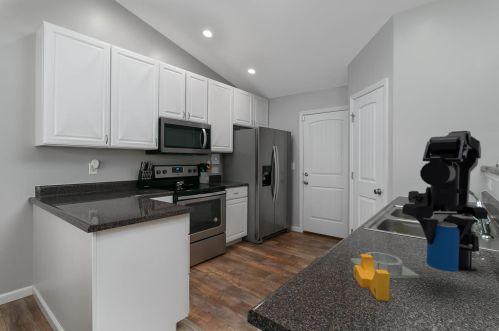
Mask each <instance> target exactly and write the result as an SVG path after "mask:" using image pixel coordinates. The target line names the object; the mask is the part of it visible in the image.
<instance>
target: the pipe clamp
mask: <svg viewBox="0 0 499 331" xmlns="http://www.w3.org/2000/svg"><path fill="white" fill-rule="evenodd" d="M360 258H361V262H360V265H355V264H354V265H353V278H355V280H356V281H357V283H358V285H359V286H360V287H361V288H364V289H365V288H366V289H369V290H370V292H371V294H373V296H374V297H375V299H376V301H385V302H386V301H387V302H390V287H391V286H390V282H391V281H390V280H391V278H390V274H389V273H388V272H387V271H386V270H374V265H373V257H372V256H371V255H367V254H365V253H361V254H360Z"/></svg>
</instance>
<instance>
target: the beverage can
mask: <svg viewBox="0 0 499 331" xmlns="http://www.w3.org/2000/svg"><path fill="white" fill-rule="evenodd" d="M458 263H459V229H458V228H457V225H456V224H453V223H448V222H443V220H442V221H441V220H438V225H437V229H436V233H435V238H434V241H433V244H429V243H428V242H427V241H426V264H427V266H428V267H430V269H432V270H433V271H436V272H439V273H443V274H449V275H450V274H454V273H456V272H458V271H459V270H458Z"/></svg>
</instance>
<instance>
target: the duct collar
mask: <svg viewBox="0 0 499 331" xmlns="http://www.w3.org/2000/svg"><path fill="white" fill-rule="evenodd" d="M364 254H367V255H371V256H372V257H373V265H374V270H386V271H387V272H388V273H389V274H390V279H420V276H421V275H420V274H418V273H416V272H415V271H413V270H411V269H410V268H408V267H407V266H405V265H403V260H402V259H401V258H399V257H397V256H396V255H393V254H389V253H385V252H381V251H369V252H366V253H364ZM350 262H351V263H353V264H354V265H360V262H361V257H360V258H355V257H354V258H350Z"/></svg>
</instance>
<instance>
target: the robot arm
mask: <svg viewBox="0 0 499 331" xmlns="http://www.w3.org/2000/svg"><path fill="white" fill-rule="evenodd" d="M481 157H482V147H481V142H480V140H478V139H477V138H475V137H474V136H472V134H471V131H470V130H469V131H468V130H457V131H455V130H454V131H451V132H448V134H447V135H444V136H443V135H442V136H432V137H430V138H429V140H428V141H426V145H425V148H424V153H423V155H422V162H427V163H425V164H424V165H423V166H422V167H421V169H420V171H419V175H420V178H421V180H422V182H424V183H425V184H427V185H430V186H426V188H425V192H421V193H420V192H419V190H410V191H408V194H407V200H408V202H409V203H405V204H403V206H402V208H401V209H402V211H401V212H402V214H403V215H407V216H410V217H412V218H414V219H416V220H417V222H418V223H419V225H420V226H421V229H422V232H423V234H424V236H425V239H426V243H427V242H428V243H429V244H433V241H434V238H435V233H436V229H437V225H438V221H439V219H437V218H435V215H444V216H445V215H447V216H446V217H444V218H443V220H442V222H448V223H453V224H456V225H457V228H458V229H459V263H458V271H477V268H476V267H474V266H472V257H473V253H475V252H480V241H479V240H480V239H479V236H478V235H477V231H474V229H475V227H474V224H475V223H478V222H479V220H488V215H489V214H488V212H489V211H488V210H487V209H486V208H485V207H484V206H483V207H482V206H479V205H478V206H477V205H473V204H469V202H470V201H469V200H470V198H469V197H470V187H471V186H470V184H471V172H472V171H474V170H475V168H476V167H477V166H478V164H479V159H481Z"/></svg>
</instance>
